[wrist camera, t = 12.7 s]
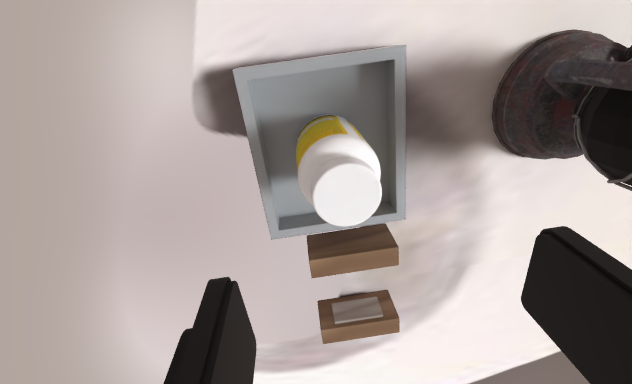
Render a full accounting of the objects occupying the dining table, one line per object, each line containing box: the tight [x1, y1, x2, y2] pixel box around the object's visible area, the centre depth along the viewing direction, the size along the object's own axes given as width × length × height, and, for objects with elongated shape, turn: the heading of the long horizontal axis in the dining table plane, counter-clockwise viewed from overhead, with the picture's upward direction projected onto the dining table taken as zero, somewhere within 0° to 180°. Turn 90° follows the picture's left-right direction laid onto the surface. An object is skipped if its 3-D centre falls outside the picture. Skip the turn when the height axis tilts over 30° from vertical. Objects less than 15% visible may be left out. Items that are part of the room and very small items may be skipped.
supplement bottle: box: [296, 114, 382, 227], centre depth 21 cm, size 5×5×10 cm
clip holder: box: [307, 224, 399, 344], centre depth 31 cm, size 11×8×4 cm
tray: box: [232, 45, 406, 240], centre depth 25 cm, size 14×12×3 cm
